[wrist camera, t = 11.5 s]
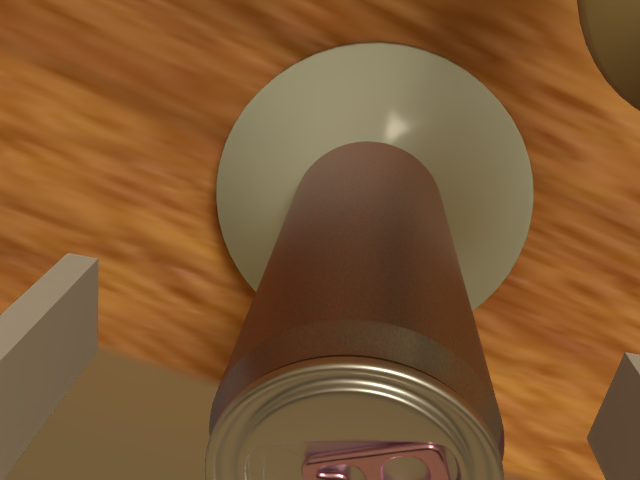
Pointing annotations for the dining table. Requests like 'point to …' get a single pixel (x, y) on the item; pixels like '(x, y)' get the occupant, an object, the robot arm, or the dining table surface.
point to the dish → (386, 127)
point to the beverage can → (359, 340)
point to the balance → (614, 43)
